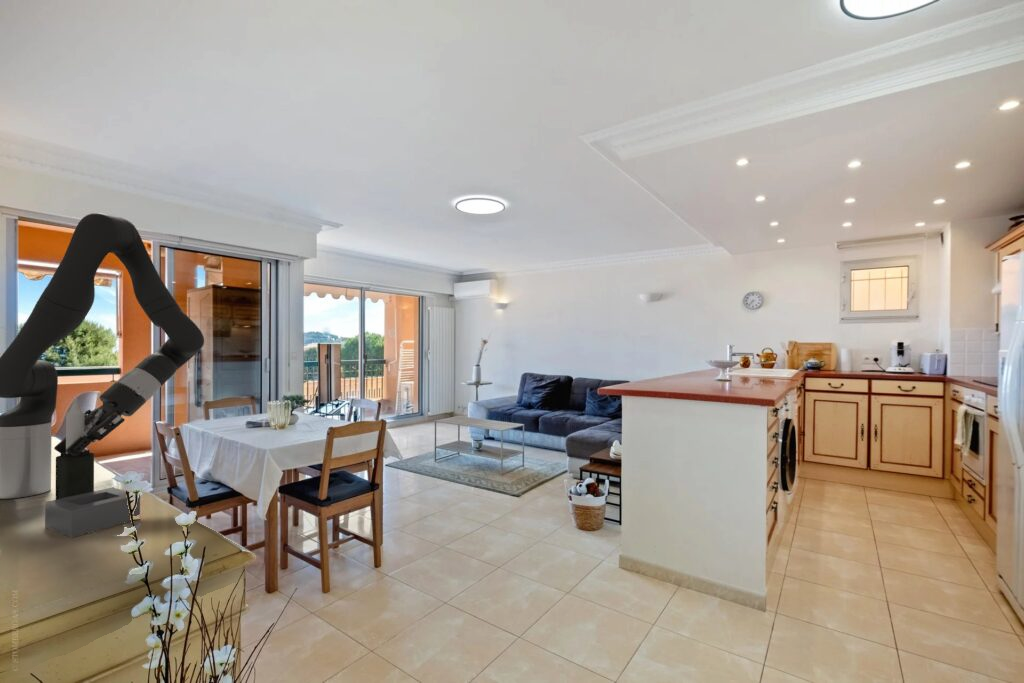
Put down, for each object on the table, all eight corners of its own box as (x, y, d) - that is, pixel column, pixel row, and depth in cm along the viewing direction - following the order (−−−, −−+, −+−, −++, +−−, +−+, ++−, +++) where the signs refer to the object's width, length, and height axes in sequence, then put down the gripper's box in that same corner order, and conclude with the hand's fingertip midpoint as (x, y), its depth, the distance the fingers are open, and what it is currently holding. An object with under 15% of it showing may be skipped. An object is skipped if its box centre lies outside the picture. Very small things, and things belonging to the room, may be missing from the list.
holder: (44, 526, 93) (45, 501, 93) (112, 510, 103) (112, 487, 103) (71, 537, 88) (71, 511, 88) (139, 518, 97) (140, 494, 97)
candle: (96, 511, 102) (96, 397, 103) (67, 519, 97) (68, 399, 98) (81, 509, 104) (82, 397, 104) (52, 517, 99) (53, 399, 99)
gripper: (103, 380, 111) (33, 439, 100) (133, 381, 104) (62, 445, 93) (129, 400, 115) (65, 459, 105) (160, 403, 109) (95, 466, 98)
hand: (64, 452), depth 99 cm, fingers closed on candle, 5 cm apart
